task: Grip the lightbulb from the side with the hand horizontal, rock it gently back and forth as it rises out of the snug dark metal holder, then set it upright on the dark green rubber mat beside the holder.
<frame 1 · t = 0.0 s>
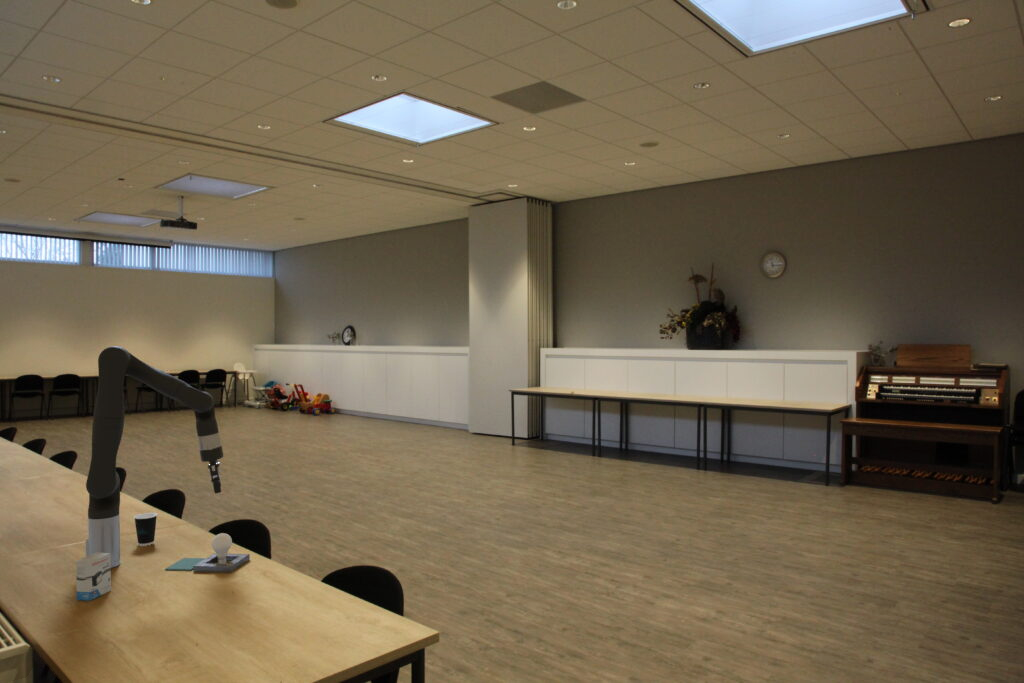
hand: (218, 490, 248), 22 cm above the table, tool pointing down, fingers open, 8 cm apart
dixie cup: (146, 544, 258), on the table
holder: (222, 565, 233), on the table
mat: (187, 564, 234), on the table
ink box: (94, 596, 208), on the table
lightbulb: (222, 566, 233), resting in holder
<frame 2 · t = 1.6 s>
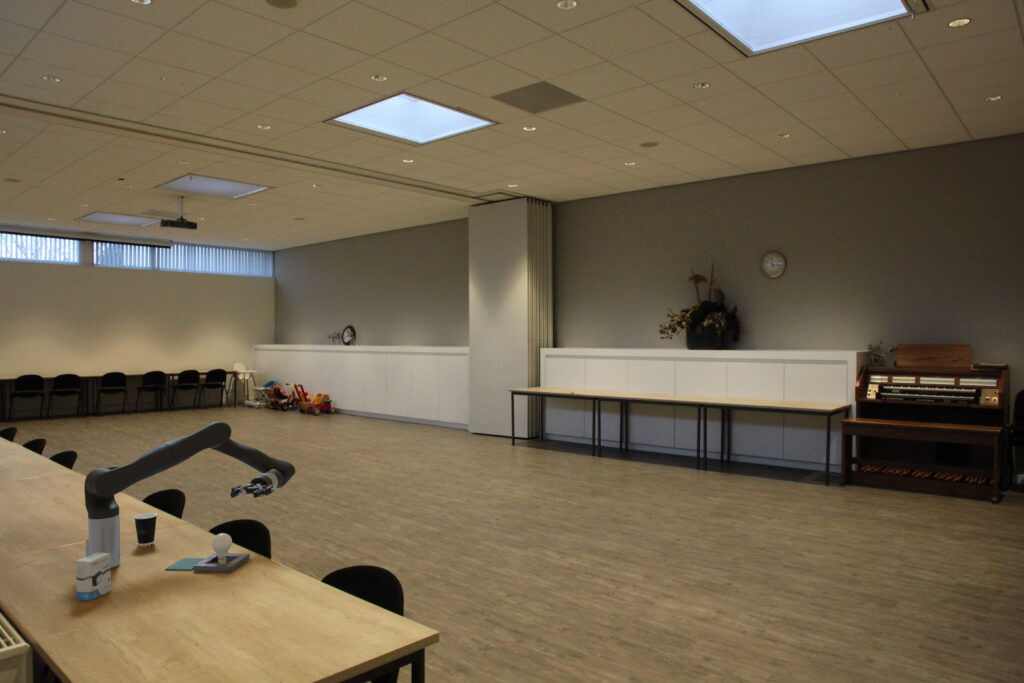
hand: (243, 495, 248), 21 cm above the table, tool horizontal, fingers open, 8 cm apart
nothing on the table moved.
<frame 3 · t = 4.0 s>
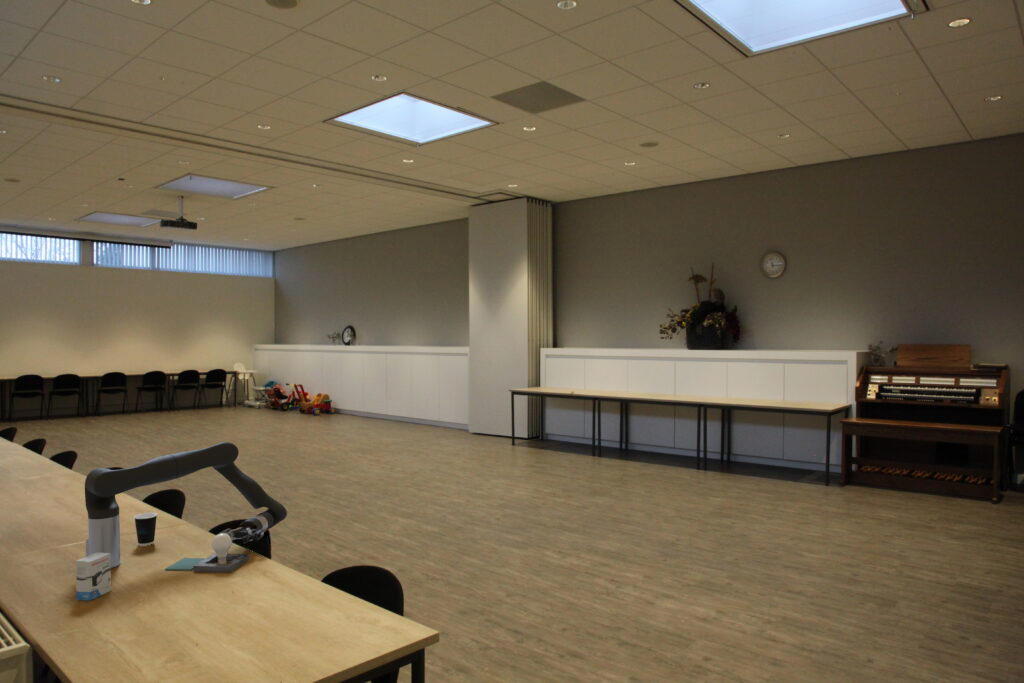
hand: (231, 540, 240), 7 cm above the table, tool horizontal, fingers open, 8 cm apart
nothing on the table moved.
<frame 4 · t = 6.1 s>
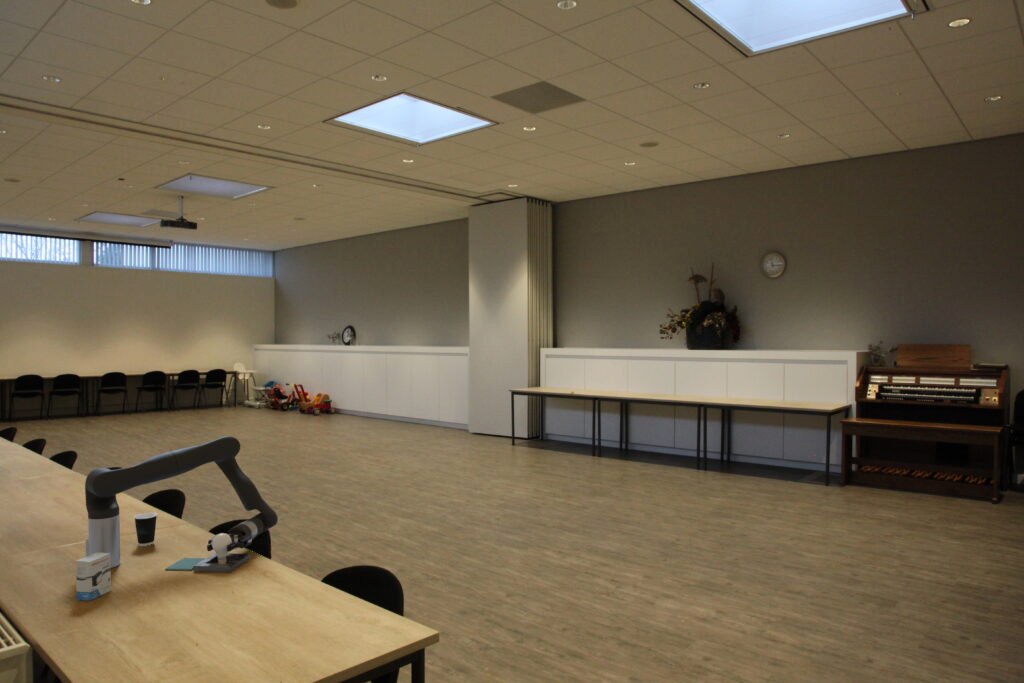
hand: (218, 548, 231), 7 cm above the table, tool horizontal, fingers closed on lightbulb, 6 cm apart
lightbulb: (222, 566, 233), resting in holder, touching gripper
everything else where it was.
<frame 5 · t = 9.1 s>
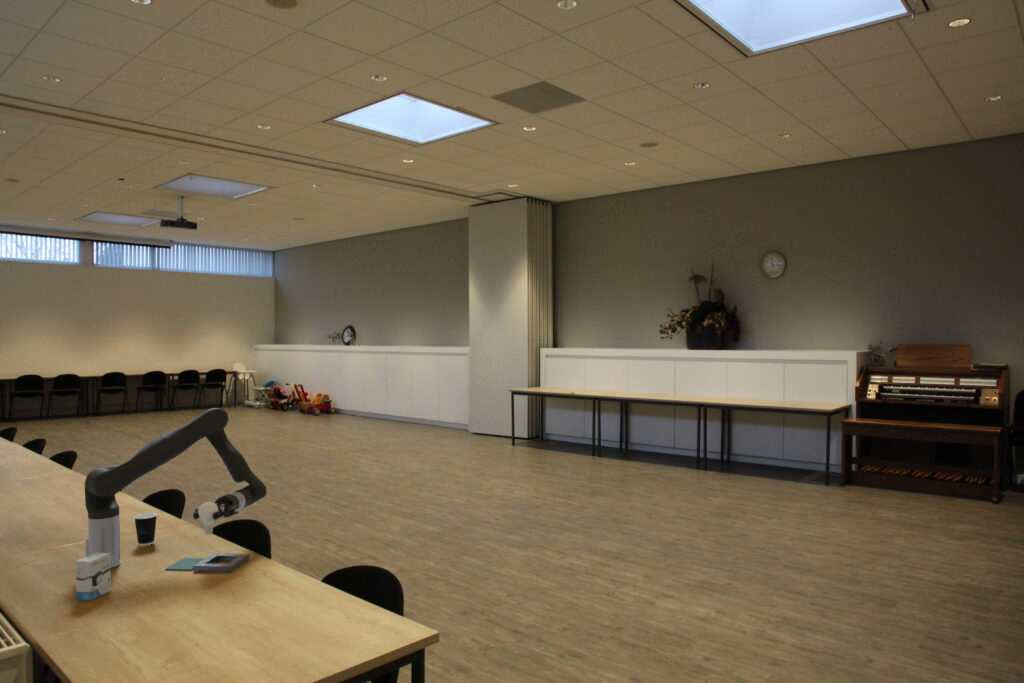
hand: (204, 516, 230), 18 cm above the table, tool horizontal, fingers closed on lightbulb, 6 cm apart
lightbulb: (208, 534, 233), point 11 cm above the table, touching gripper
everything else where it was.
when the fingers open (8 cm above the table, at t = 12.0 s): lightbulb drops 1 cm, resting on mat.
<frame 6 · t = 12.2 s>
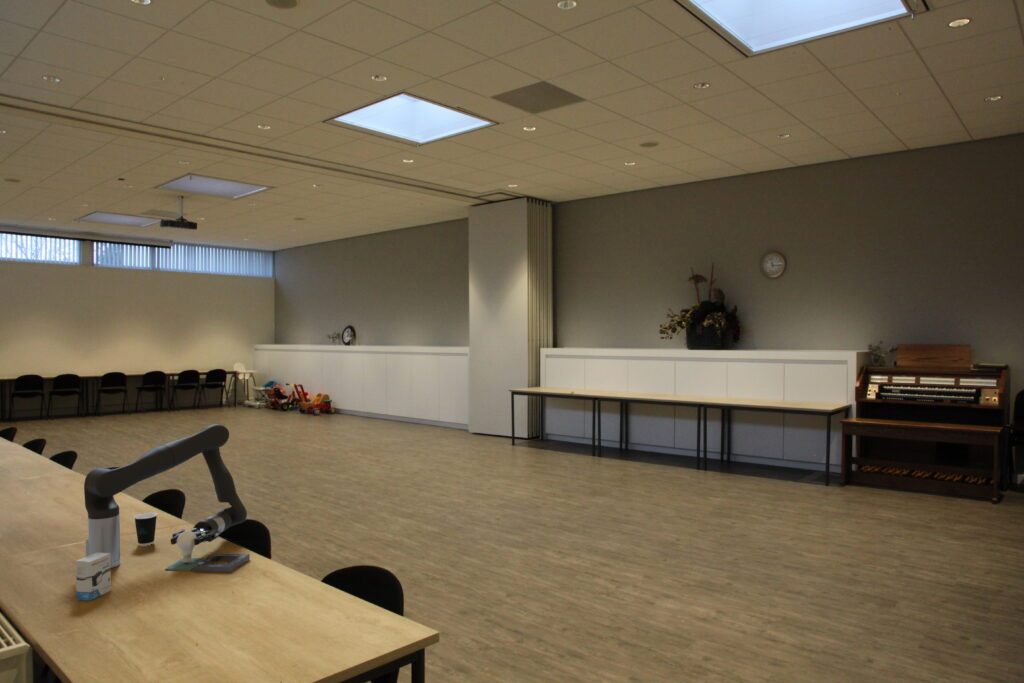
hand: (183, 541, 232), 8 cm above the table, tool horizontal, fingers open, 8 cm apart
lightbulb: (187, 563, 235), resting on mat
everything else where it was.
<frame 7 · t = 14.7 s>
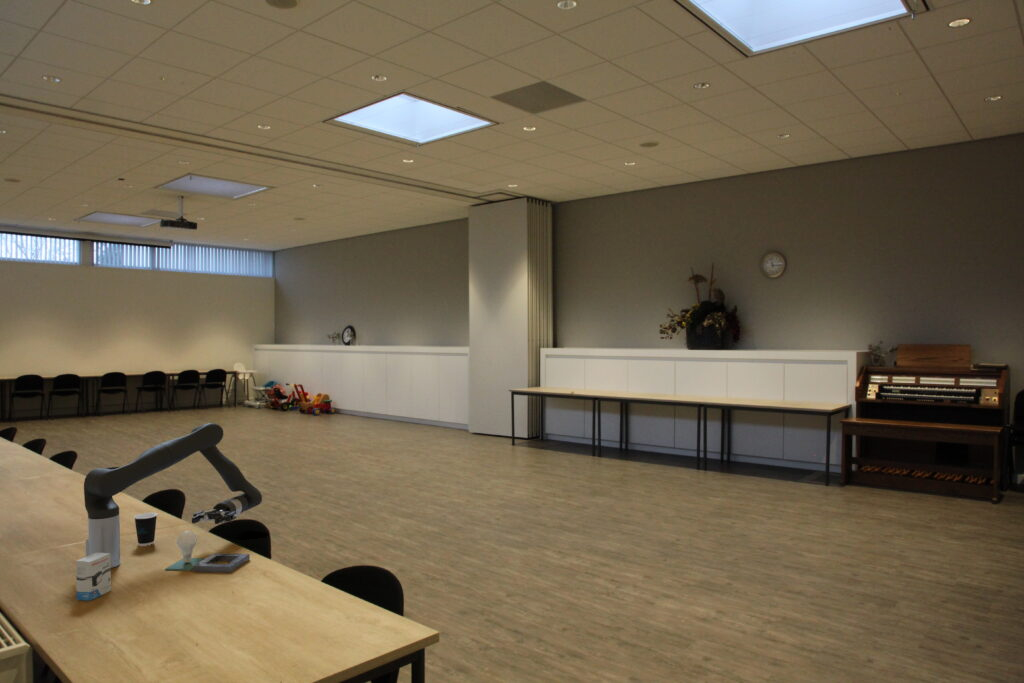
hand: (204, 521, 245), 12 cm above the table, tool horizontal, fingers open, 8 cm apart
nothing on the table moved.
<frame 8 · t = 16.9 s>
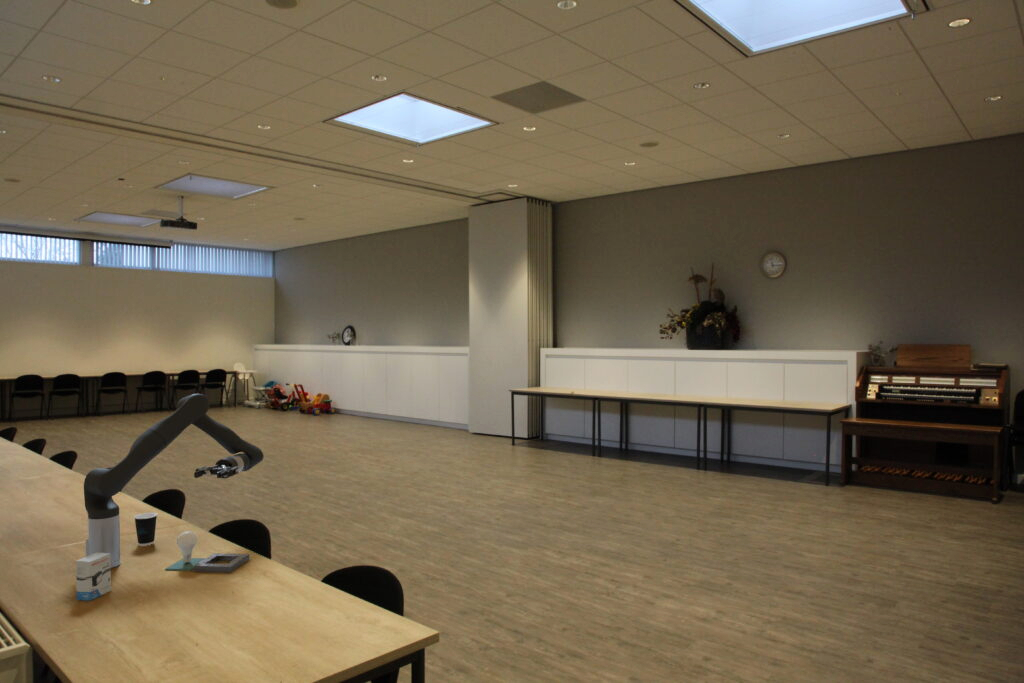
hand: (206, 475, 247), 28 cm above the table, tool horizontal, fingers open, 8 cm apart
nothing on the table moved.
at the end: lightbulb inside the target area (0.2 cm from its centre), resting on mat; lightbulb tilted 1°; the gripper is holding nothing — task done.
